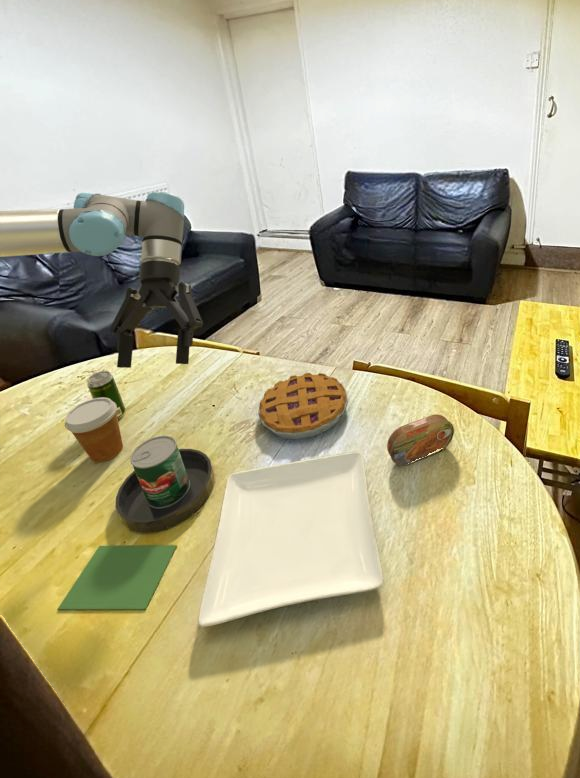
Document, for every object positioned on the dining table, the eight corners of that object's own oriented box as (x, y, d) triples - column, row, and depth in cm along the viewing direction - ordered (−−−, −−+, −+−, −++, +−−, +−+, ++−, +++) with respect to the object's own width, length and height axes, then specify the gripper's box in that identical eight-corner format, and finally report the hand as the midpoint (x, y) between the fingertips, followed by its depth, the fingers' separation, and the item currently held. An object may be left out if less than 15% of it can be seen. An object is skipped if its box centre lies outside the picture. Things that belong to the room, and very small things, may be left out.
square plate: (363, 461, 88) (361, 447, 86) (385, 600, 63) (384, 585, 61) (231, 484, 84) (227, 470, 82) (200, 641, 59) (194, 625, 58)
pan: (99, 533, 75) (94, 522, 74) (150, 459, 91) (146, 449, 90) (192, 533, 75) (188, 521, 73) (227, 458, 90) (224, 447, 89)
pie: (336, 376, 116) (334, 361, 113) (360, 428, 97) (358, 411, 95) (256, 397, 109) (253, 381, 107) (265, 456, 90) (261, 439, 88)
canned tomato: (186, 469, 88) (173, 429, 83) (193, 495, 81) (179, 454, 77) (145, 487, 84) (129, 446, 79) (148, 516, 78) (131, 474, 73)
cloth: (57, 610, 64) (57, 608, 64) (99, 546, 73) (99, 545, 73) (145, 609, 63) (145, 608, 63) (177, 546, 72) (176, 544, 72)
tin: (392, 471, 85) (390, 440, 82) (386, 460, 88) (384, 430, 84) (454, 446, 90) (455, 416, 87) (446, 437, 93) (447, 407, 89)
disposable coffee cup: (77, 474, 88) (56, 431, 83) (88, 444, 96) (69, 403, 91) (127, 460, 91) (110, 417, 86) (134, 431, 99) (118, 391, 94)
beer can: (131, 412, 106) (116, 373, 101) (110, 425, 101) (94, 386, 96) (118, 406, 108) (103, 368, 103) (97, 419, 104) (80, 380, 99)
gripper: (223, 263, 88) (219, 363, 84) (125, 274, 94) (116, 369, 89) (201, 252, 81) (194, 361, 77) (96, 265, 86) (84, 368, 82)
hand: (152, 365), depth 83 cm, fingers open, 13 cm apart
